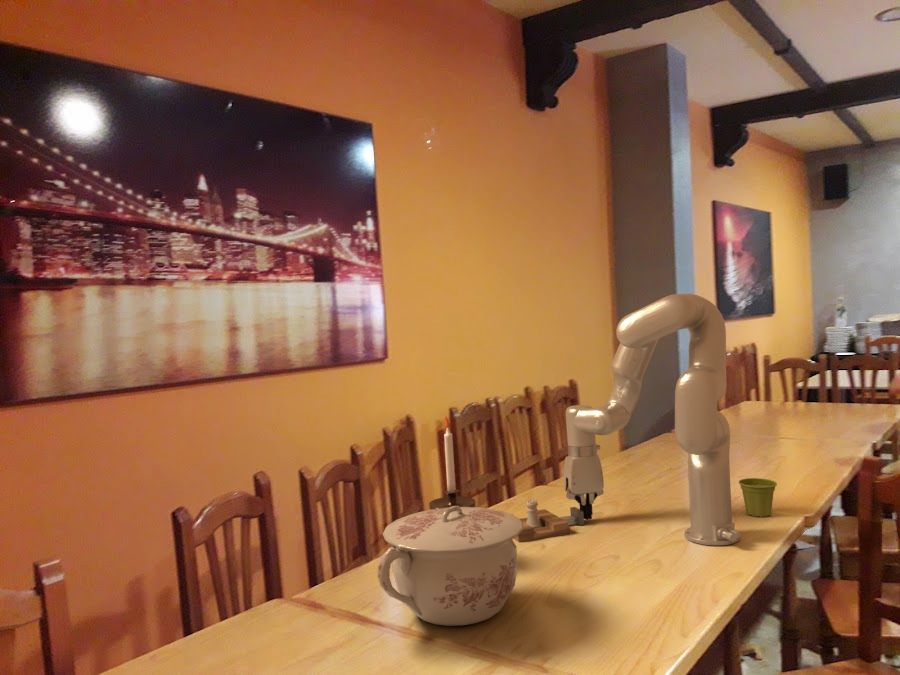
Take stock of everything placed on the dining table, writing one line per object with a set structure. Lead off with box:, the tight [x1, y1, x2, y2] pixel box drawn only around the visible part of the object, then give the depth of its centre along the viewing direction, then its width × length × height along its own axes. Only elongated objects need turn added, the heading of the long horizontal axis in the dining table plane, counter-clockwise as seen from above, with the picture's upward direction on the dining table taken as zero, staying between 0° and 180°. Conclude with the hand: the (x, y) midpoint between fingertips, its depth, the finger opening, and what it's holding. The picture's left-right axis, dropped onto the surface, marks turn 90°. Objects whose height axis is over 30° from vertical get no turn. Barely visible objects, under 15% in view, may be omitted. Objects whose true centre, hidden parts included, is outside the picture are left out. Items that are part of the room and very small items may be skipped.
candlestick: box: [428, 414, 477, 510], centre depth 161 cm, size 11×11×35 cm
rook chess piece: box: [525, 498, 541, 529], centre depth 182 cm, size 4×4×8 cm
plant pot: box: [738, 477, 778, 518], centre depth 185 cm, size 9×9×9 cm
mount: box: [511, 508, 570, 543], centre depth 182 cm, size 14×14×3 cm
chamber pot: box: [377, 506, 523, 627], centre depth 135 cm, size 28×28×21 cm
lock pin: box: [539, 506, 585, 527], centre depth 185 cm, size 5×11×4 cm, turn 107°
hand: (586, 518), depth 187 cm, fingers closed
